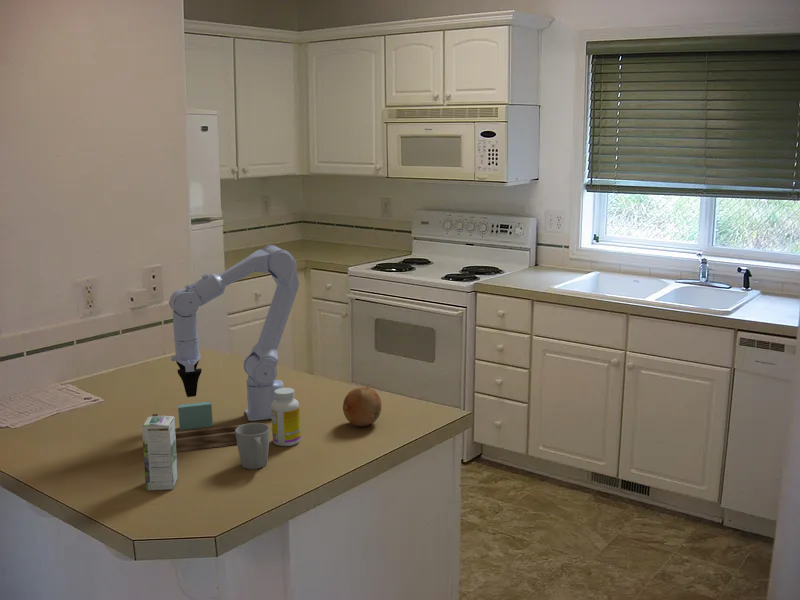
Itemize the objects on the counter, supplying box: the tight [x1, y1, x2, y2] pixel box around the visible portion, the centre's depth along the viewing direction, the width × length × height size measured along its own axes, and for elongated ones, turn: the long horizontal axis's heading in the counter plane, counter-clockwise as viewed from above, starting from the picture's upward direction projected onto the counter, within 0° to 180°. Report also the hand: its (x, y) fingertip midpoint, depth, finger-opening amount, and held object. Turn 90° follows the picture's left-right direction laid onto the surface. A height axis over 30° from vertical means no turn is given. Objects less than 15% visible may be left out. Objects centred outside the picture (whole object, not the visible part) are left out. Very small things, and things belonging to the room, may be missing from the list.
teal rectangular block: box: [177, 401, 214, 431], centre depth 210 cm, size 8×2×6 cm, turn 107°
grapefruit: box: [342, 385, 382, 428], centre depth 210 cm, size 10×10×10 cm
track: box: [151, 413, 243, 453], centre depth 200 cm, size 21×8×7 cm, turn 107°
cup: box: [235, 422, 271, 470], centre depth 186 cm, size 8×10×8 cm
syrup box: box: [141, 415, 179, 491], centre depth 177 cm, size 6×6×14 cm
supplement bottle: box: [271, 387, 302, 447], centre depth 199 cm, size 7×7×13 cm
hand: (190, 391), depth 209 cm, fingers open, 7 cm apart
